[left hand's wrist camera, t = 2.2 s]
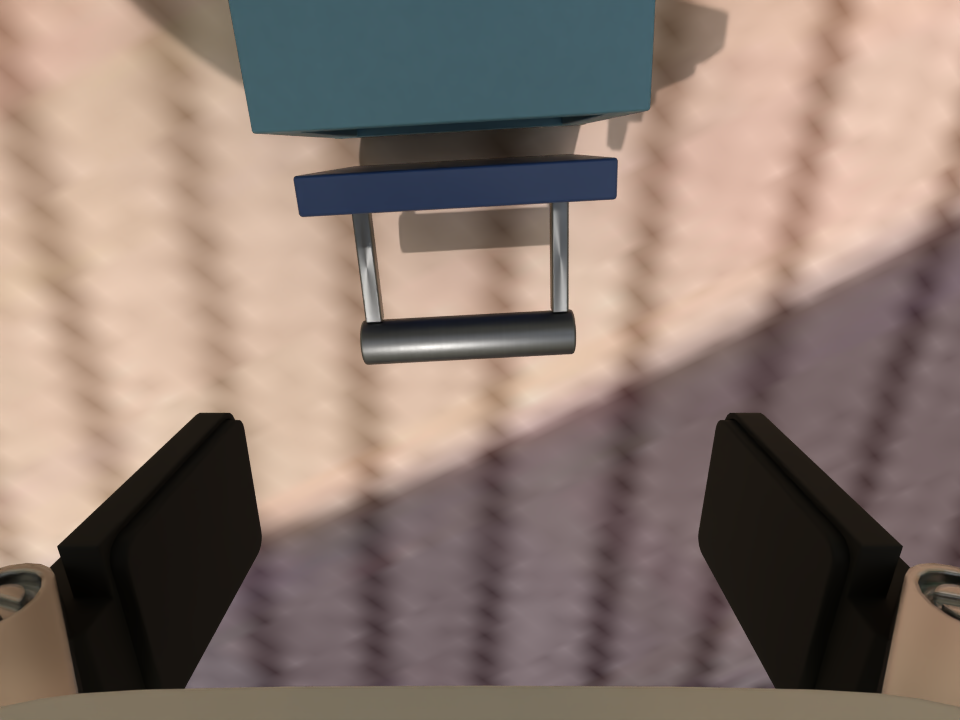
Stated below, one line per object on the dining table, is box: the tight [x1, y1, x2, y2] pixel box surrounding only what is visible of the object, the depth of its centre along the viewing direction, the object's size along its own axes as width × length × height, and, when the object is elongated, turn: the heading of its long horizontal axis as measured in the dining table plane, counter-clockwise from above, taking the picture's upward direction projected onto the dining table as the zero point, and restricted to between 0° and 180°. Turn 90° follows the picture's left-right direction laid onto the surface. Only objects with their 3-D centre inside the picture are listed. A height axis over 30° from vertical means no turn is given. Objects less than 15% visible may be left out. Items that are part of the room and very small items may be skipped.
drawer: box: [294, 154, 618, 365], centre depth 20 cm, size 18×10×9 cm, turn 3°
